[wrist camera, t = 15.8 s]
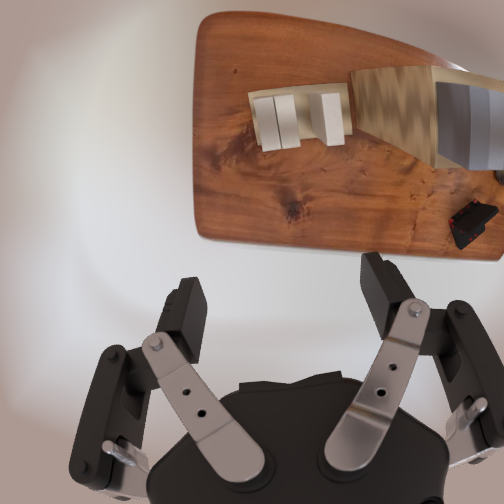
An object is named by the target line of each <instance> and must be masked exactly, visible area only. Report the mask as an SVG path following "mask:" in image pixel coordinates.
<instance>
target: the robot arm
mask: <svg viewBox="0 0 504 504" xmlns="http://www.w3.org/2000/svg"><path fill="white" fill-rule="evenodd" d="M360 274H361V275H360V284H361V289H362V292H363V295H364V297H365V299H366V302H367V304H368V307H369V309H370V312H371V314H372V316H373V319H374V321H375V324H376V327H377V329H378V332H379V334H380V337H381V340H384V341H383V343H382V345H381V347H380V350H379V352H378V354H377V356H376V358H375V360H374V363H373V364H372V366H371V368H370V370H369V372H368V374H367V376H366V378H365V380H364V382H361V381H359V380H356V379H352V378H343V377H342V374H341V371H335V372H329V373H324V374H318V375H314V376H311V377H308V378H306V379H303V380H300V381H297V382H295V383H292V384H286V383H276V382H268V381H259V382H246V383H239V390H237V391H234V392H232V393H230V394H228V395H226V396H224V397H223V398H221V399H220V400H218V399H217V398H216V397H215V395H214V394H213V393H212V392H211V390H210V389H209V388H208V386H207V385H206V384H205V383H204V381H203V380H202V379H201V377H200V376H199V375H198V373H197V372H196V371H195V369H194V368H193V367H192V365H191V364H196V363H198V361H199V356H200V350H201V344H202V338H203V332H204V327H205V321H206V316H207V302H206V299H205V296H204V293H203V290H202V287H201V285H200V282H199V279H198V278H197V277H189V278H182V279H181V282H180V285H179V288H178V289H174V290H173V291H172V292H171V293H170V294H169V295H168V296H167V299H166V302H165V306H164V308H163V312H162V313H161V316H160V319H159V322H158V325H157V328H156V331H155V333H153V334H151V335H149V336H148V337H147V338H146V339H145V340H144V341H143V344H142V346H141V347H138V348H135V349H132V350H128V351H126V350H125V348H124V347H123V346H122V345H112V346H110V347H108V348H107V349H105V350H104V352H103V353H102V354H101V357H100V359H99V362H98V365H97V368H96V371H95V374H94V377H93V380H92V383H91V386H90V389H89V392H88V395H87V398H86V402H85V405H84V408H83V411H82V415H81V418H80V422H79V426H78V429H77V433H76V437H75V441H74V445H73V449H72V453H71V457H70V462H69V473H70V475H71V477H72V479H74V480H75V481H76V482H78V483H80V484H82V485H84V486H86V487H88V488H89V489H91V490H93V491H96V492H98V493H100V494H103V495H105V496H108V497H113V498H115V499H118V500H121V501H127V500H129V499H131V498H133V499H138V500H144V501H150V503H151V504H444V501H443V491H444V484H445V479H446V475H447V471H448V470H451V469H453V468H455V467H458V466H461V465H463V464H465V463H469V464H478V463H480V462H482V461H483V460H485V459H486V458H488V457H489V456H491V455H492V454H493V453H495V452H496V451H498V450H499V449H501V448H502V447H503V446H504V366H503V364H502V362H501V360H500V358H499V355H498V353H497V351H496V350H495V348H494V346H493V344H492V342H491V340H490V338H489V336H488V334H487V332H486V330H485V329H484V327H483V325H482V323H481V322H480V320H479V318H478V316H477V315H476V313H475V311H474V310H473V308H472V307H471V305H469V304H468V303H467V302H465V301H461V300H455V301H452V302H450V303H449V304H448V306H447V309H431V308H429V306H428V305H427V304H426V303H425V302H424V301H422V300H420V299H416V298H415V296H414V294H413V293H412V291H411V289H410V287H409V286H408V284H407V283H406V281H405V280H404V278H403V276H402V274H400V271H399V270H398V268H397V266H396V265H394V264H393V263H392V262H390V261H389V260H385V261H383V260H382V258H381V256H380V255H379V253H378V252H377V251H376V252H370V253H363V254H362V256H361V273H360ZM418 355H429V356H433V359H434V362H435V364H436V367H437V369H438V373H439V375H440V378H441V381H442V384H443V387H444V390H445V393H446V396H447V399H448V402H449V406H450V409H451V412H452V414H451V416H450V417H449V418H448V420H447V423H446V438H445V440H444V439H443V438H442V437H441V436H440V435H439V434H438V433H436V432H435V431H433V430H432V429H431V428H429V427H428V426H426V425H425V424H423V423H422V422H420V421H419V420H417V419H416V418H414V417H413V416H412V415H410V414H409V413H407V412H406V411H404V410H403V409H401V408H400V407H399V404H400V402H401V399H402V397H403V394H404V392H405V390H406V387H407V385H408V382H409V379H410V377H411V374H412V371H413V369H414V366H415V363H416V360H417V357H418ZM158 388H161V389H162V390H163V392H164V394H165V396H166V397H167V399H168V401H169V402H170V404H171V406H172V407H173V409H174V410H175V412H176V414H177V415H178V417H179V418H180V420H181V421H182V423H183V425H184V426H185V427H186V429H187V431H188V432H187V434H185V435H184V437H182V439H181V440H180V441H179V442H178V443H177V444H175V445H174V447H172V448H171V449H170V450H169V451H168V452H167V453H166V454H165V455H164V456H163V457H162V458H161V459H160V460H159V461H158V462H157V463H156V464H155V465H154V466H153V467H152V469H151V470H149V467H148V458H147V456H146V454H145V453H144V452H143V451H141V447H142V441H143V434H144V428H145V422H146V415H147V410H148V404H149V398H150V394H151V390H154V389H158Z"/></svg>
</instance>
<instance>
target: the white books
mask: <svg viewBox="0 0 504 504" xmlns="http://www.w3.org/2000/svg"><path fill="white" fill-rule="evenodd" d="M313 92H332V93H339V95H340V103H341V112H342V121H343V131H344V135H353V133H352V122H351V113H350V104H349V95H348V88H347V83H330V84H314V85H302V86H292V87H283V88H275V89H268V90H261V91H255V92H249V93H248V97H249V102H250V107H251V112H252V118H253V123H254V129H255V134H256V139H257V145H262V149H263V152H264V151H271V150H278V149H281V147H282V149H285V148H293V147H300V146H301V145H300V140H301V139H309V138H317V137H316V136H315V135H314V134H313V129H312V121H311V114H310V107H309V100H308V94H307V93H313Z"/></svg>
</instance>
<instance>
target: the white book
mask: <svg viewBox="0 0 504 504" xmlns="http://www.w3.org/2000/svg"><path fill="white" fill-rule="evenodd" d="M307 94H308V100H309V107H310V114H311V121H312V129H313V134H314V135H315V136H316V137H317V138H319V139H320V140H321V141H322V142H323V143H325V144H326V145H327V146H333V145H344V144H345V142H344V131H343V121H342V112H341V103H340V95H339V93H332V92H313V93H307Z"/></svg>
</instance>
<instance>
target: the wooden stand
mask: <svg viewBox="0 0 504 504" xmlns="http://www.w3.org/2000/svg"><path fill="white" fill-rule="evenodd" d="M350 73H351V80H352V87H353V95H354V104H355V113H356V123H357V128H358V129H360V130H362V131H364V132H367V133H369V134H371V135H373V136H375V137H377V138H379V139H381V140H383V141H385V142H387V143H389V144H391V145H393V146H395V147H397V148H399V149H401V150H403V151H405V152H406V153H408V154H410V155H412V156H414V157H415V158H417V159H419V160H421V161H423V162H424V163H426V164H428V165H429V166H431V167H433V168H435V169H440V168H466V169H467V170H504V81H501V80H498V79H494V78H490V77H487V76H483V75H479V74H475V73H470V72H466V71H461V70H456V69H450V68H445V67H438V66H432V65H422V66H399V67H385V68H374V69H365V70H357V71H350Z"/></svg>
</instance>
